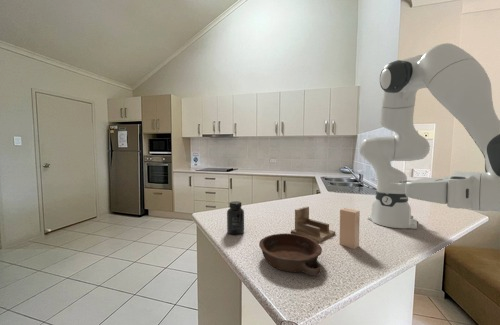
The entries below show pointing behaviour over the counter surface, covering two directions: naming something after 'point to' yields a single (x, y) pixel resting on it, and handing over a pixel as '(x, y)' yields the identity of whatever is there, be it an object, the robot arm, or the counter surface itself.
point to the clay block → (349, 228)
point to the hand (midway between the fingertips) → (395, 184)
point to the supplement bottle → (235, 218)
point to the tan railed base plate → (310, 226)
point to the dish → (292, 253)
